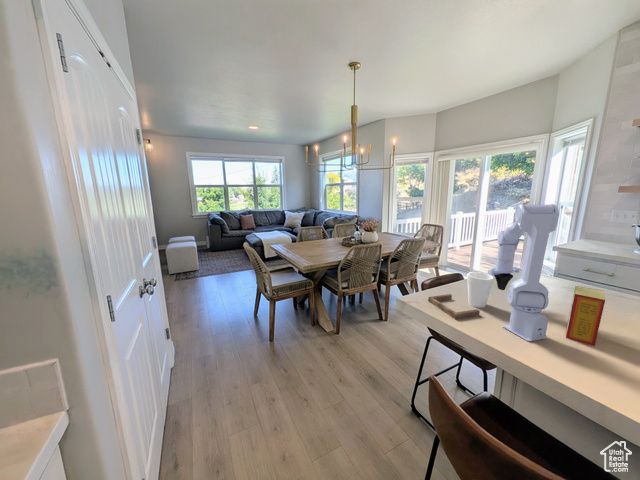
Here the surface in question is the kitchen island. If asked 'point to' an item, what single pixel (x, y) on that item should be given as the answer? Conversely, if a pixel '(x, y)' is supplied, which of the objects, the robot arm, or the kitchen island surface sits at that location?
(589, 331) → the baking soda box
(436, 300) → the walnut corral
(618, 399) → the kitchen island surface
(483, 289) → the foam cup
